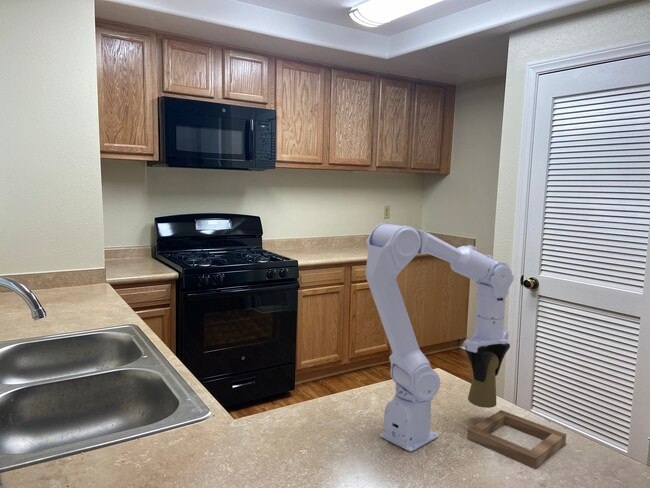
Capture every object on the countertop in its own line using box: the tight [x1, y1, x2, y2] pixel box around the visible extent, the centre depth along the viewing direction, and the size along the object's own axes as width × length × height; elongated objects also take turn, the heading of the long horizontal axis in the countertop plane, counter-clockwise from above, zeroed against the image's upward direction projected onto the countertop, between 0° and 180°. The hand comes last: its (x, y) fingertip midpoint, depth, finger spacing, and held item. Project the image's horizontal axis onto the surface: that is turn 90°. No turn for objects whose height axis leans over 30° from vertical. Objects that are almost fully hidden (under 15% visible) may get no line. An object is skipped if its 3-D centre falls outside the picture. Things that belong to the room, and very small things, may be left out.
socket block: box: [466, 409, 567, 469], centre depth 97 cm, size 14×14×2 cm
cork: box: [467, 354, 499, 409], centre depth 104 cm, size 6×6×11 cm
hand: (485, 377), depth 104 cm, fingers closed on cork, 5 cm apart
